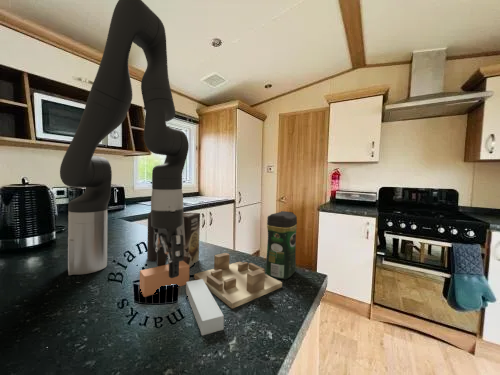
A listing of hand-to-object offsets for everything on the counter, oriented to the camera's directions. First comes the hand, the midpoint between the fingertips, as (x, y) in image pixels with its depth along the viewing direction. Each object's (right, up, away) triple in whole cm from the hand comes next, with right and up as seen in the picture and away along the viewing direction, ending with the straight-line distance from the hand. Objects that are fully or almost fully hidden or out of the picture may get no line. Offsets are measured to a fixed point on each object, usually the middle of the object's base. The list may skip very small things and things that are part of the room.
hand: (167, 271), depth 56 cm
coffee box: (0, -4, +15) cm, 15 cm away
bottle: (-10, -3, +19) cm, 22 cm away
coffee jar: (+30, -5, +10) cm, 32 cm away
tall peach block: (-1, -4, 0) cm, 4 cm away
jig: (+17, -5, +4) cm, 18 cm away
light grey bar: (+11, -5, -9) cm, 15 cm away
